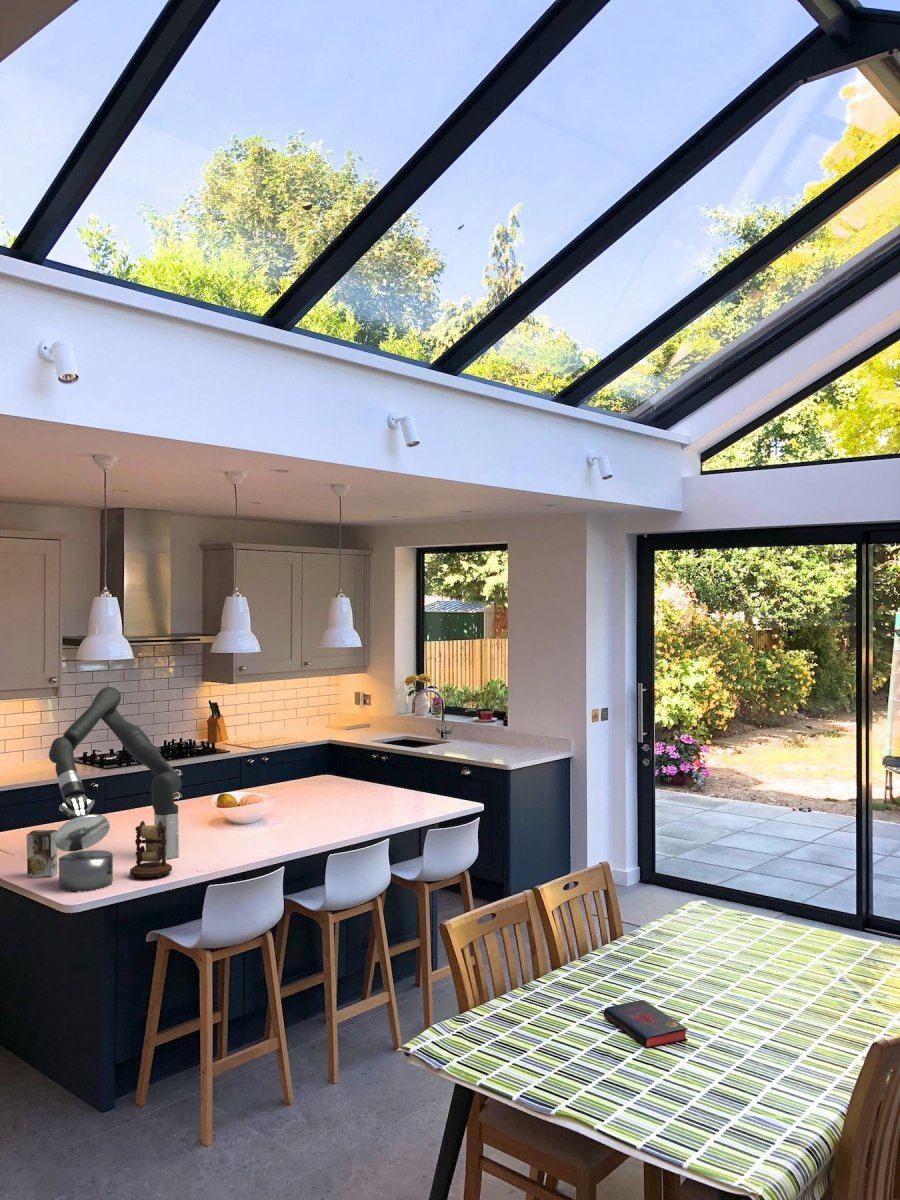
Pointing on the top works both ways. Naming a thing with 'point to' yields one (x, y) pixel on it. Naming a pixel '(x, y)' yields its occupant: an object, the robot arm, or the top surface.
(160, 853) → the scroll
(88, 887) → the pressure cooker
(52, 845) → the coffee box
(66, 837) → the lid
